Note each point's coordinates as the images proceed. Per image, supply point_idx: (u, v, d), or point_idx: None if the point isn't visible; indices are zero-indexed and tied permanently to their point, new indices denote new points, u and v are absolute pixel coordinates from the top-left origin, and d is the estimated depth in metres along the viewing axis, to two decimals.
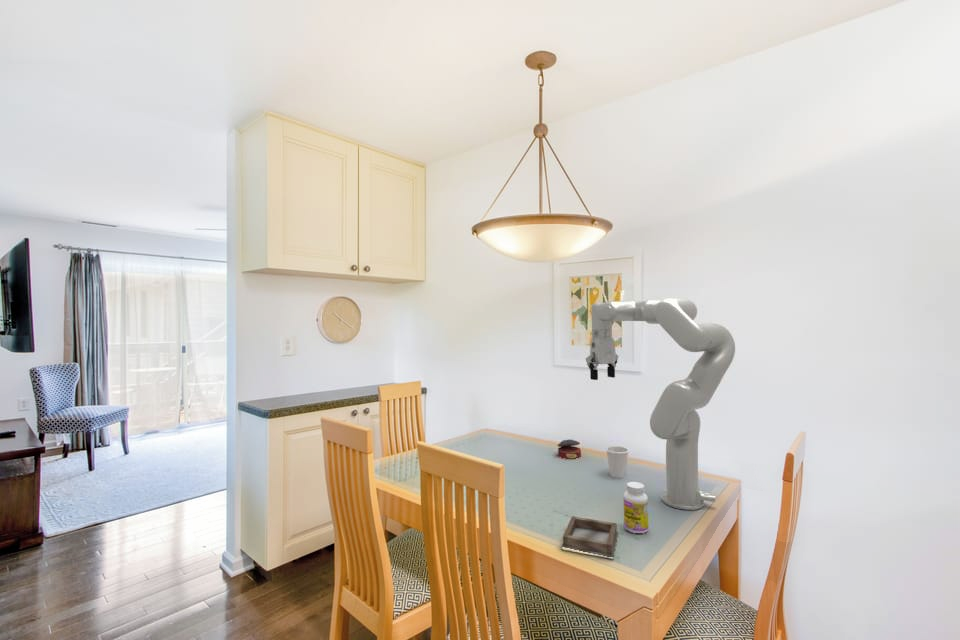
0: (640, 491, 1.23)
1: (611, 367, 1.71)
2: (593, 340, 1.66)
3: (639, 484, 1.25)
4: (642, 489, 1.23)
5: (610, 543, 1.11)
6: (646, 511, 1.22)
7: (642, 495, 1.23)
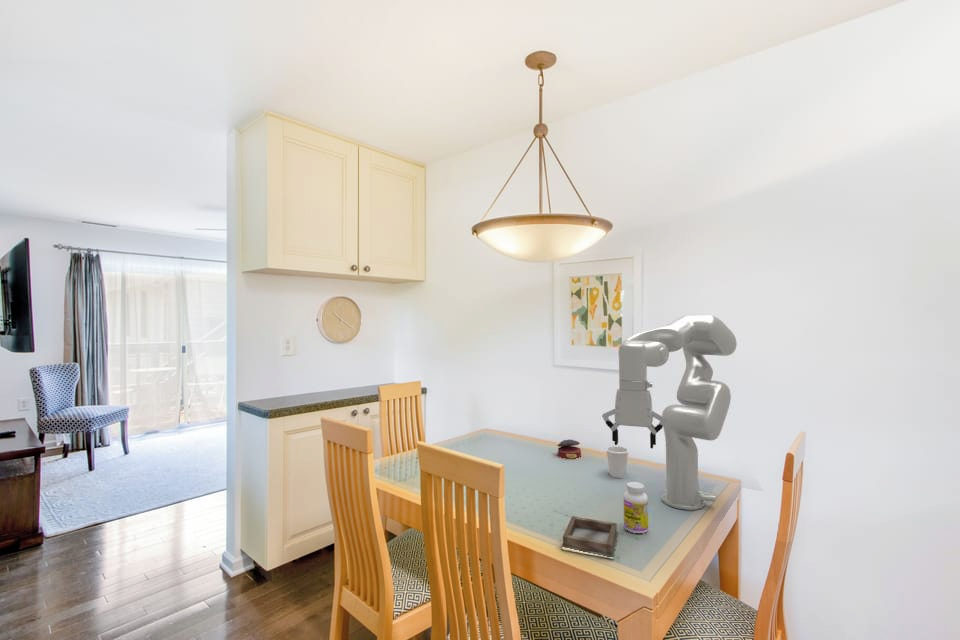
0: (640, 491, 1.23)
1: (617, 430, 1.27)
2: (649, 394, 1.23)
3: (639, 484, 1.25)
4: (642, 489, 1.23)
5: (610, 543, 1.11)
6: (646, 511, 1.22)
7: (642, 495, 1.23)
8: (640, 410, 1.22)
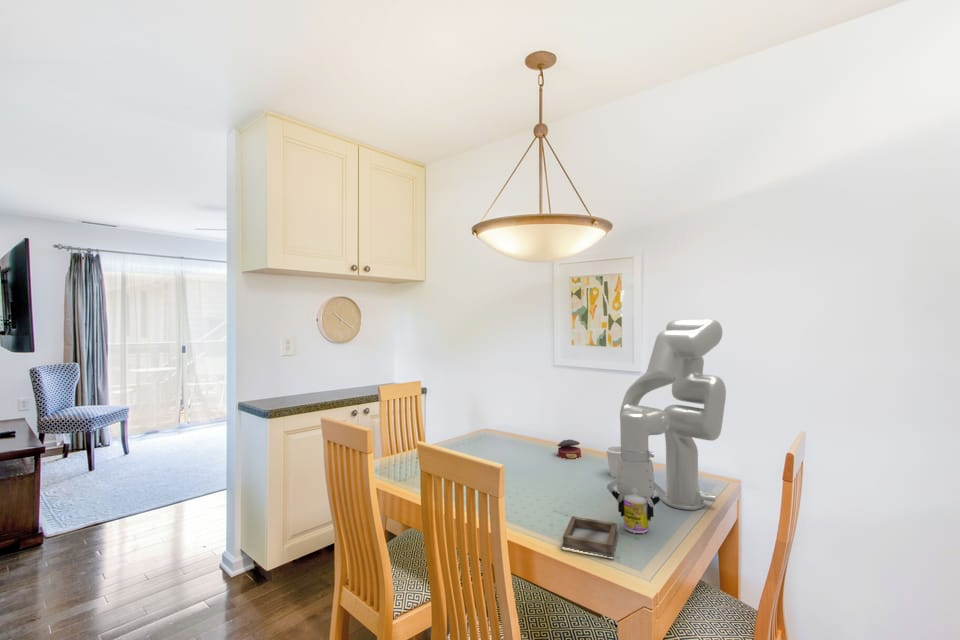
0: None
1: (623, 500, 1.27)
2: (651, 464, 1.23)
3: None
4: None
5: (610, 543, 1.11)
6: (646, 511, 1.22)
7: None
8: (642, 481, 1.22)
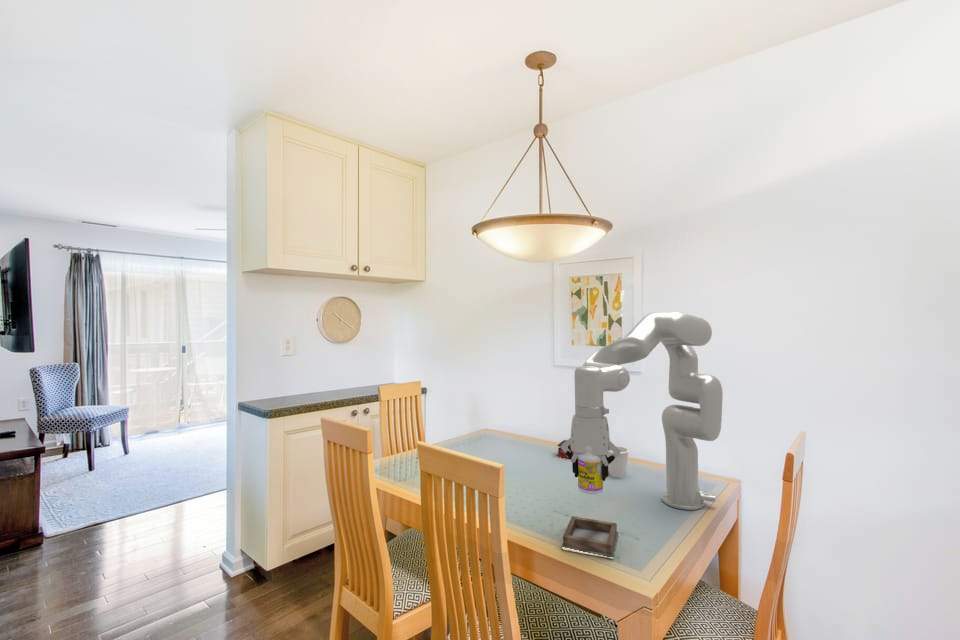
0: None
1: (577, 461, 1.20)
2: (606, 421, 1.16)
3: None
4: None
5: (610, 543, 1.11)
6: (600, 470, 1.16)
7: None
8: (596, 438, 1.15)
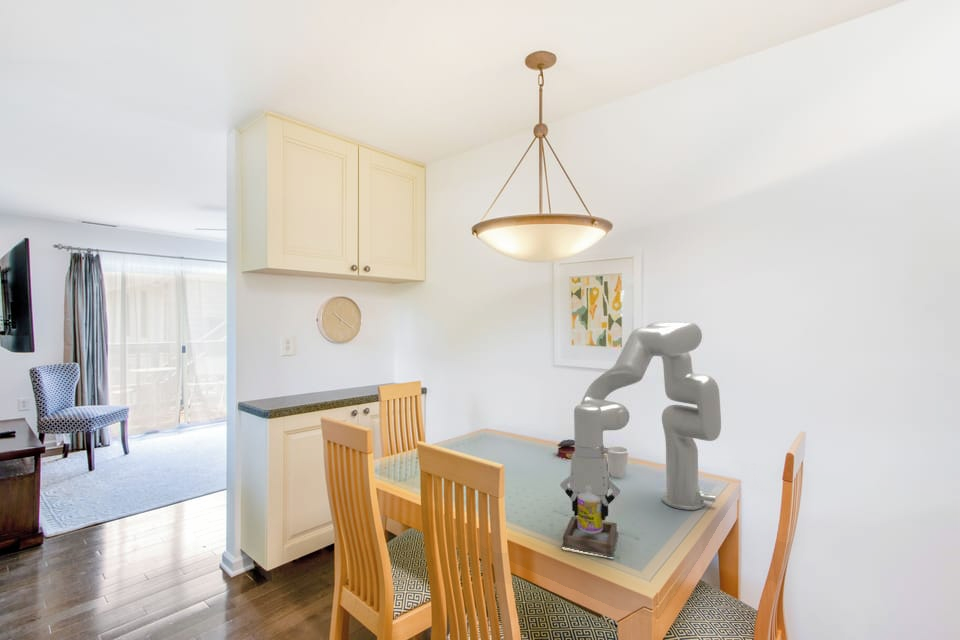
0: None
1: None
2: (606, 460, 1.16)
3: None
4: None
5: (610, 543, 1.11)
6: (600, 510, 1.16)
7: None
8: (595, 478, 1.15)
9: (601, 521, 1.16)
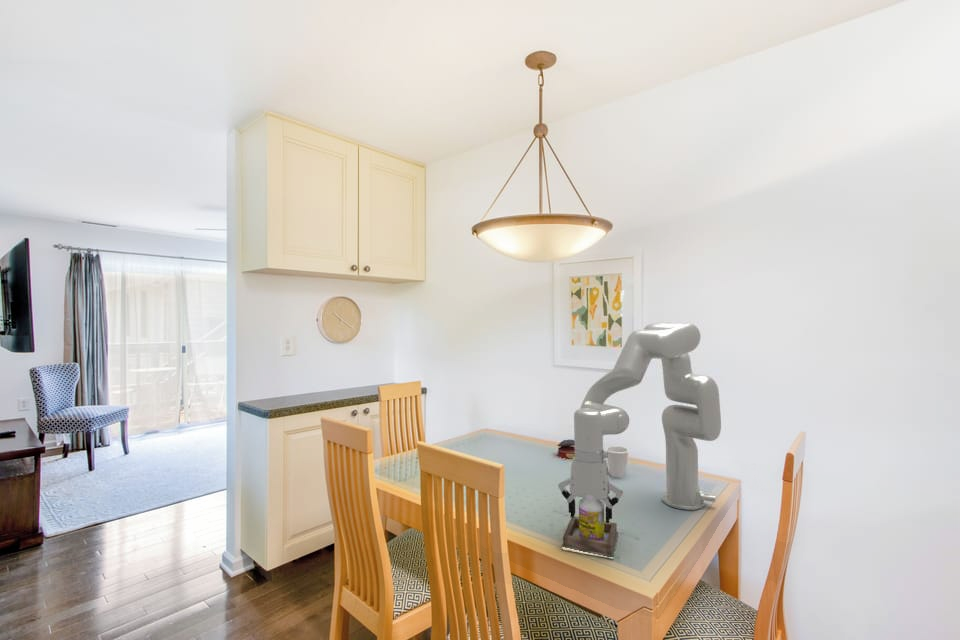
0: (596, 499, 1.16)
1: (573, 500, 1.20)
2: (606, 464, 1.16)
3: None
4: None
5: (610, 543, 1.11)
6: (601, 520, 1.16)
7: (597, 503, 1.16)
8: (595, 482, 1.15)
9: (602, 531, 1.16)
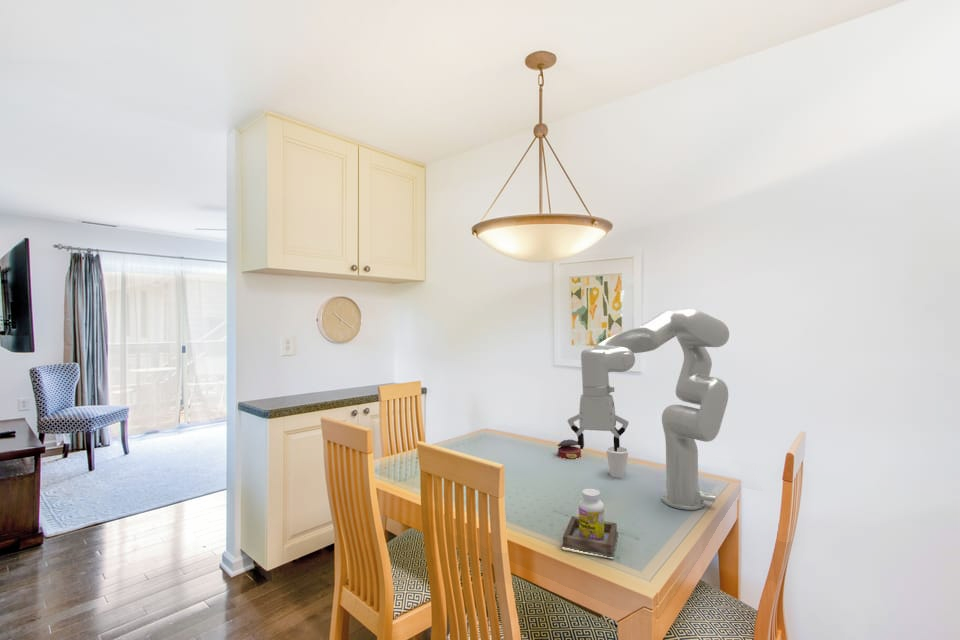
0: (596, 499, 1.16)
1: (582, 434, 1.30)
2: (612, 398, 1.25)
3: (595, 491, 1.18)
4: (597, 496, 1.16)
5: (610, 543, 1.11)
6: (601, 520, 1.16)
7: (597, 503, 1.16)
8: (603, 415, 1.24)
9: (602, 531, 1.16)
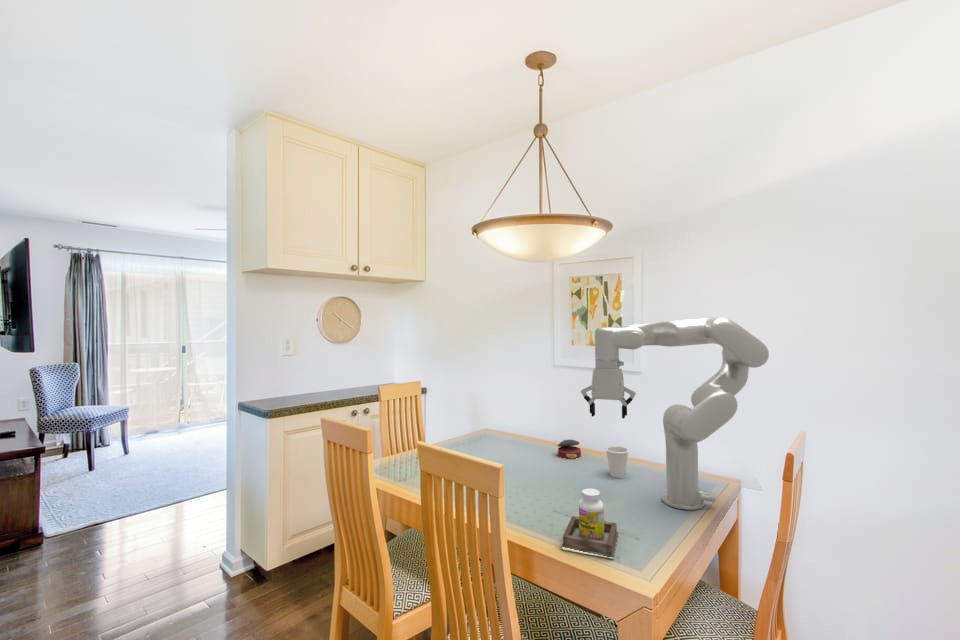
0: (595, 499, 1.16)
1: (593, 403, 1.45)
2: (621, 371, 1.41)
3: (595, 491, 1.18)
4: (597, 496, 1.16)
5: (610, 543, 1.11)
6: (601, 520, 1.16)
7: (597, 503, 1.16)
8: (613, 385, 1.40)
9: (602, 531, 1.16)
